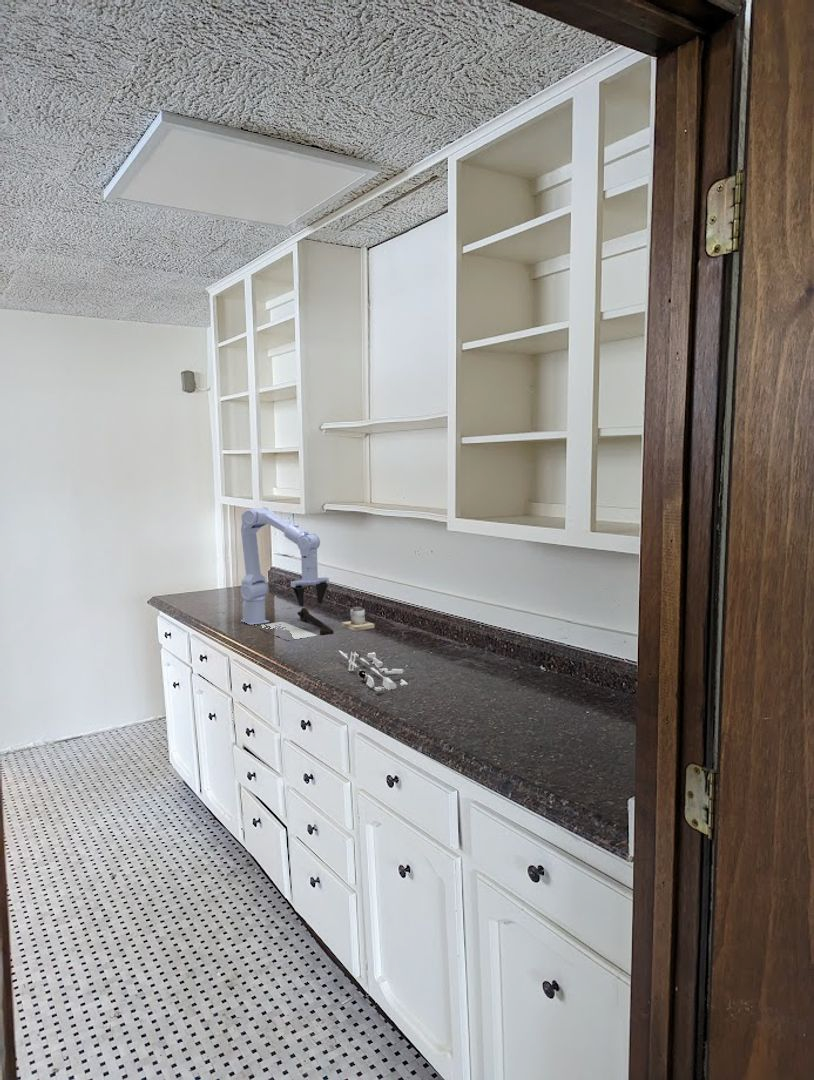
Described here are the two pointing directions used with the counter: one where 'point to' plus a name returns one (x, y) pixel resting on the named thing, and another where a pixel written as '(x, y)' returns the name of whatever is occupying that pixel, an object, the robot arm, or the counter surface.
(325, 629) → the dark brown hooked rod
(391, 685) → the miniature set
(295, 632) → the tool mat
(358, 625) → the cup on beige base
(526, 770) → the counter surface
